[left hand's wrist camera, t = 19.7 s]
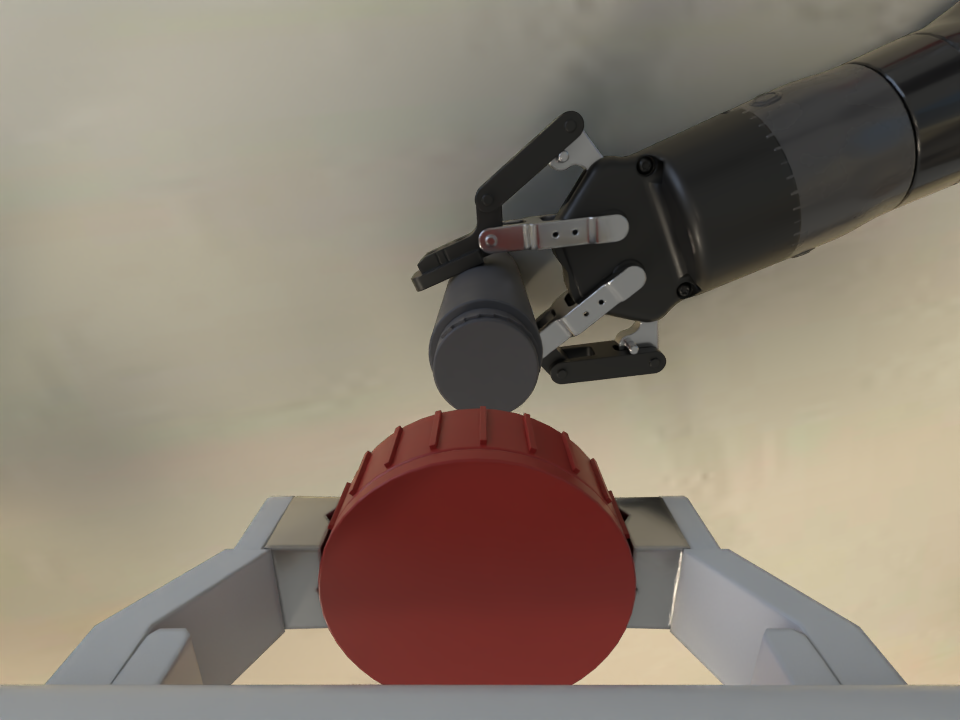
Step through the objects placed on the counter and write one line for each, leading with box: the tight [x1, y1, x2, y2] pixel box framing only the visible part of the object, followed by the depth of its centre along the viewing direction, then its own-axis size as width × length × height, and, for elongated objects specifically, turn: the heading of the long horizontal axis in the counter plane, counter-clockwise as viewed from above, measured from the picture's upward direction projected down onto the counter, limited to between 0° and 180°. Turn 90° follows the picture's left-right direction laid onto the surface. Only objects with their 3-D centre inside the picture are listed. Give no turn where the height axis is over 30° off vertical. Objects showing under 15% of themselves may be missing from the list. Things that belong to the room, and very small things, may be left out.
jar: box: [429, 252, 543, 412], centre depth 25 cm, size 4×4×15 cm
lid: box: [318, 406, 636, 685], centre depth 10 cm, size 6×6×2 cm
